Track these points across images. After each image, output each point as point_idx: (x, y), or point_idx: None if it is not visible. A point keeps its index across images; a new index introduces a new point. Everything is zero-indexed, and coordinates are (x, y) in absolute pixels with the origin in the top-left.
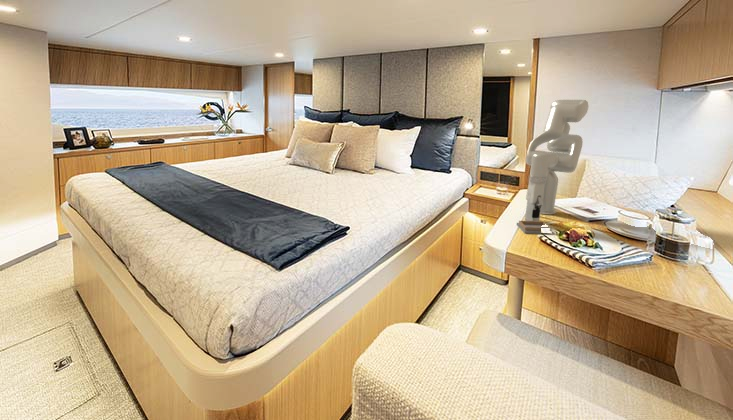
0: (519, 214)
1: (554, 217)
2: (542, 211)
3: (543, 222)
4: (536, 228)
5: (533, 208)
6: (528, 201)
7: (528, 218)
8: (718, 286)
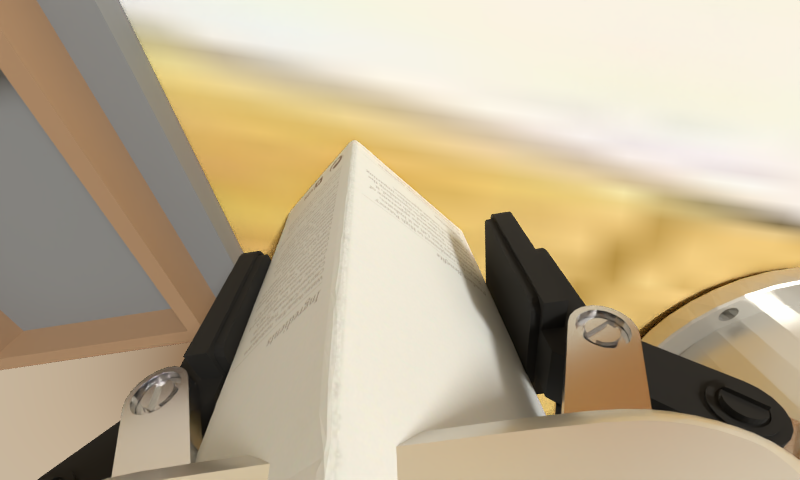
0: (681, 110)
1: None
2: (677, 353)
3: (164, 334)
4: None
5: (230, 376)
6: (286, 463)
7: (313, 197)
8: None
